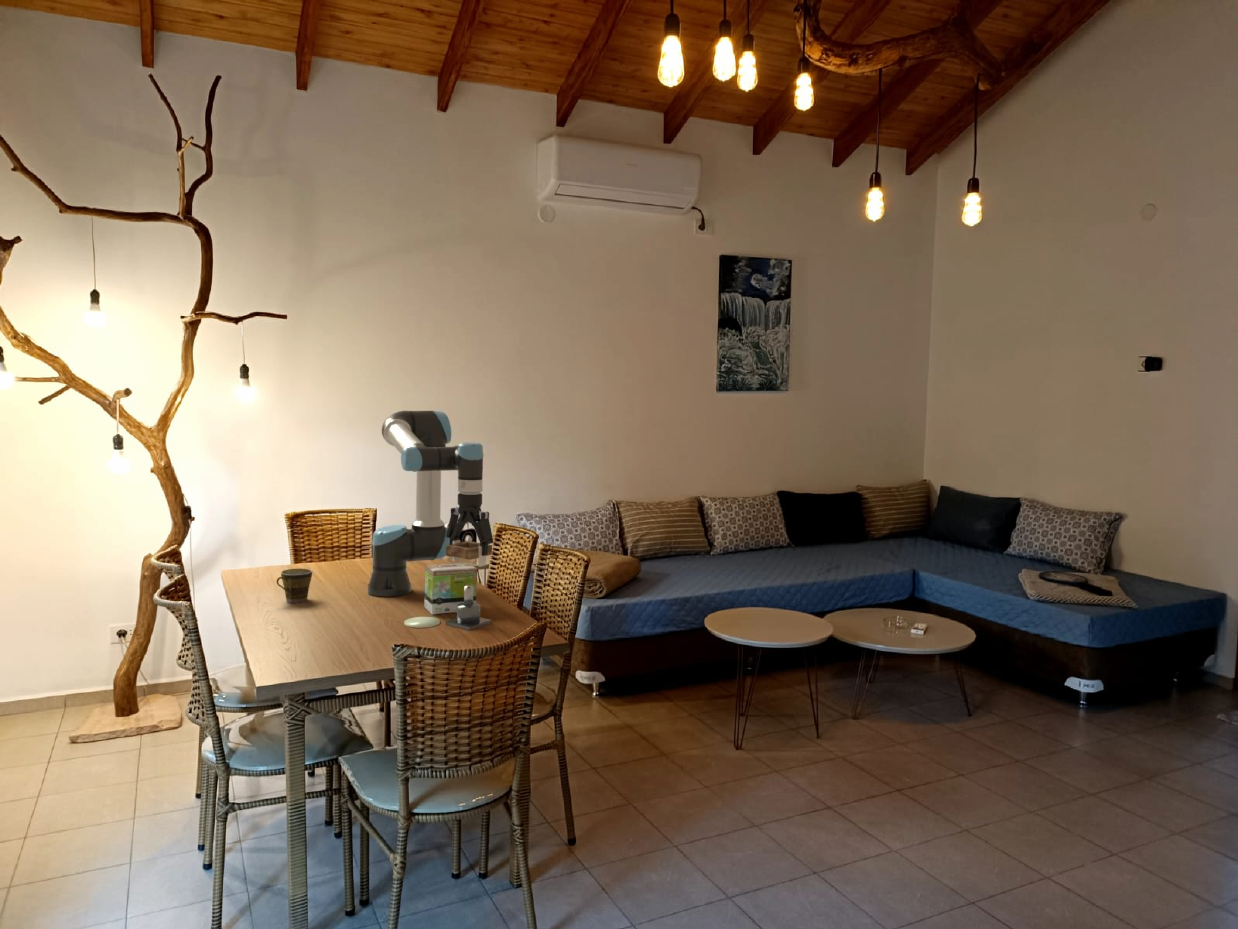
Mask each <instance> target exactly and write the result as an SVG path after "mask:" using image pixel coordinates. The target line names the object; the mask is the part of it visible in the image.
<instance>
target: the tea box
mask: <svg viewBox="0 0 1238 929" xmlns="http://www.w3.org/2000/svg"><path fill="white" fill-rule="evenodd" d="M424 576H425V578H424V603H423V605H424V608H425V609H426V610H427V611H428V613H430V614H431V615H438V614H450V613H457V604H459V603H464V586H467V585H471V586H473V602H474V603H477V587H478V586H477V585H478V584H477V583H478V582H477V581H478V578H477V577H478V568H476V567H475V566H474V565H472V564H471V563H470V562H459V563H457V562H456V563H445V564H443V563H442V564H428V565H427V564H426V565H425V575H424Z"/></svg>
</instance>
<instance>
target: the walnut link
mask: <svg viewBox="0 0 1238 929" xmlns="http://www.w3.org/2000/svg"><path fill="white" fill-rule="evenodd" d="M479 545H480V542H476V541H469V540H467V541H460V543H457V544H452V545H451V544H449V545H447V546H446V556H449V557H452V556H453V557H458V558H460V559H464V560H476V559H478V554H479ZM492 555H493V545H492V544H488V554H487V555H486V557H488V556H492Z"/></svg>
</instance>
